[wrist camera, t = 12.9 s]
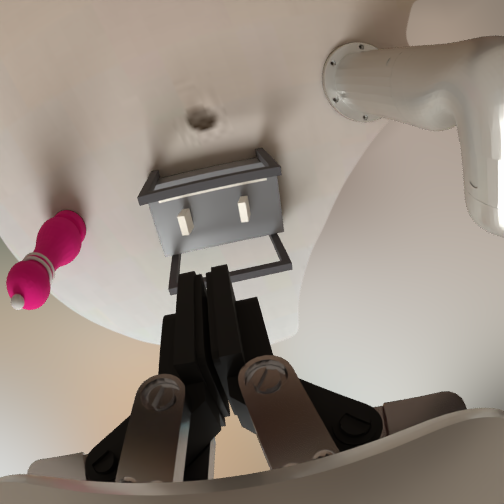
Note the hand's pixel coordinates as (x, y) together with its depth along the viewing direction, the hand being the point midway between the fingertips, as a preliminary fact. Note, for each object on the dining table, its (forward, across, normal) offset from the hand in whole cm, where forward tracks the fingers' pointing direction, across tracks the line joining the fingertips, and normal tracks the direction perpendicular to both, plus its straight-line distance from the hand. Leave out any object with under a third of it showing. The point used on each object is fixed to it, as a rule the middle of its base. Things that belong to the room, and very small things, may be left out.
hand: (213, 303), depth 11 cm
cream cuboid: (+32, -4, +10) cm, 33 cm away
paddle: (+32, +4, +10) cm, 33 cm away
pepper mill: (+35, +24, +8) cm, 43 cm away
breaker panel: (+35, 0, +10) cm, 36 cm away
